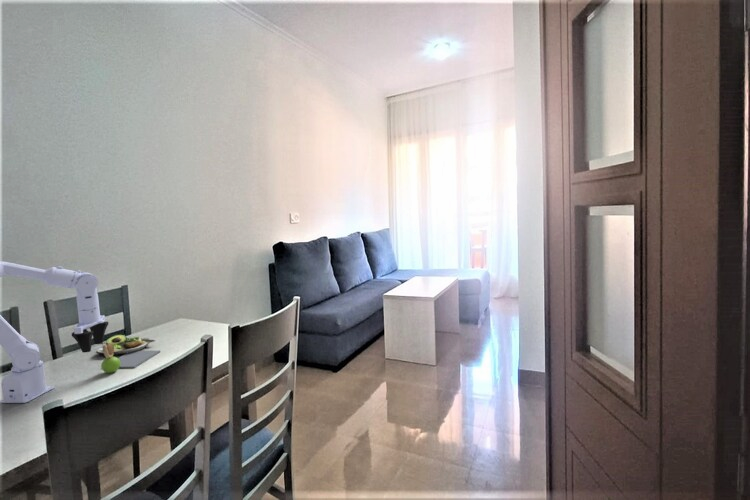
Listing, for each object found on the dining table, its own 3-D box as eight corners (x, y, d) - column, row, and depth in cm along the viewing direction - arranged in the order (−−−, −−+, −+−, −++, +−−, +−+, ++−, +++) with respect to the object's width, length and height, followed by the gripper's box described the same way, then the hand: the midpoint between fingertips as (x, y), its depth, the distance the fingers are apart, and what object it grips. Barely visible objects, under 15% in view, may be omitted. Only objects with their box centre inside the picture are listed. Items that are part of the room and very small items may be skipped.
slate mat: (134, 368, 132) (134, 366, 132) (102, 368, 133) (102, 366, 133) (160, 351, 147) (160, 350, 147) (131, 352, 148) (131, 350, 148)
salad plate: (163, 338, 162) (162, 328, 161) (144, 352, 144) (143, 341, 144) (116, 343, 159) (115, 332, 159) (90, 358, 142) (88, 346, 141)
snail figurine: (98, 377, 125) (94, 343, 124) (106, 369, 131) (102, 337, 130) (116, 375, 127) (112, 341, 125) (123, 367, 133) (120, 335, 131)
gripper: (89, 313, 117) (94, 354, 118) (112, 302, 131) (116, 339, 133) (64, 315, 116) (69, 356, 117) (90, 303, 130) (94, 341, 131)
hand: (93, 347), depth 125 cm, fingers open, 7 cm apart
